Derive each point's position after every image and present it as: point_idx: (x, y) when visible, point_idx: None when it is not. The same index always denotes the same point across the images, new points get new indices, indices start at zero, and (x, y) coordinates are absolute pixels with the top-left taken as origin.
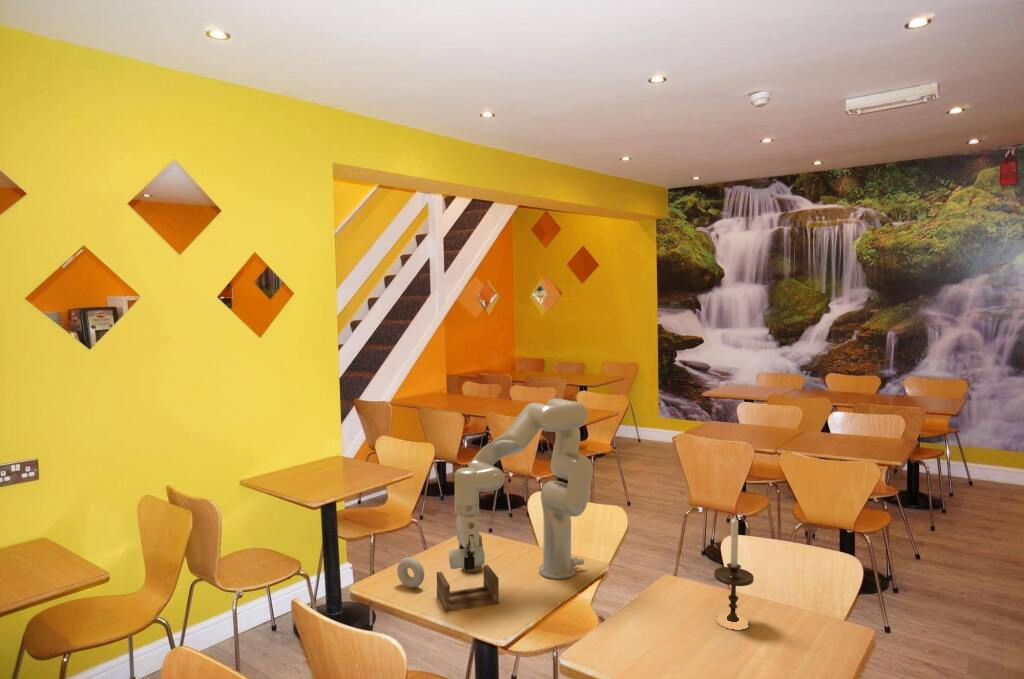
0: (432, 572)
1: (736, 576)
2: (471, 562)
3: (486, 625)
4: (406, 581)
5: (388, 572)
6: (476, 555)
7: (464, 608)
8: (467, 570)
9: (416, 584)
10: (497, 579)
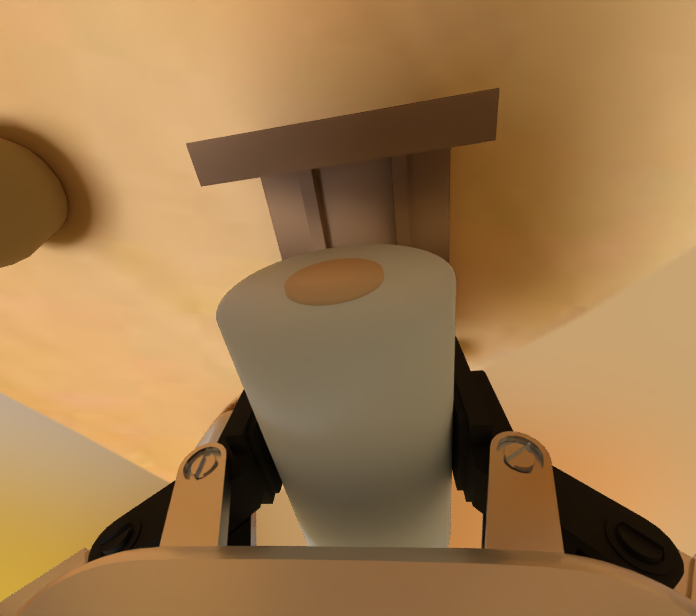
0: (103, 352)
1: None
2: (497, 408)
3: (640, 217)
4: None
5: (130, 456)
6: (449, 391)
7: None
8: (62, 222)
9: None
10: (495, 101)
